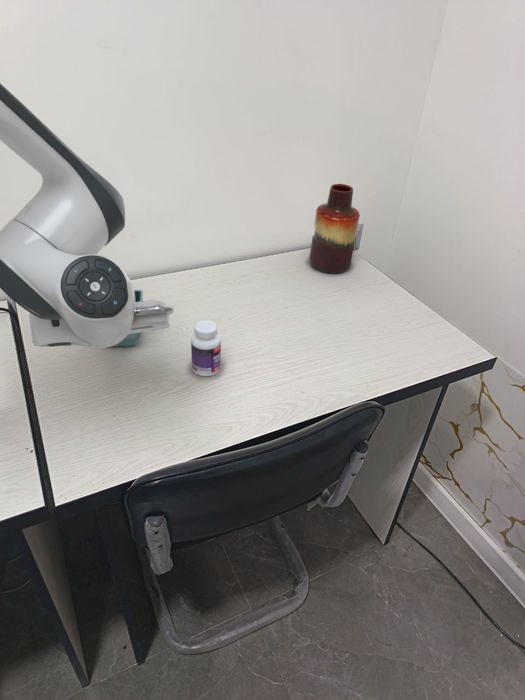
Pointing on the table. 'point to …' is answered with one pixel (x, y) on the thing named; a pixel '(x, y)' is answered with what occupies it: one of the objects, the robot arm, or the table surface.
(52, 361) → the table surface
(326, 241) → the vase
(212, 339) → the pill bottle
